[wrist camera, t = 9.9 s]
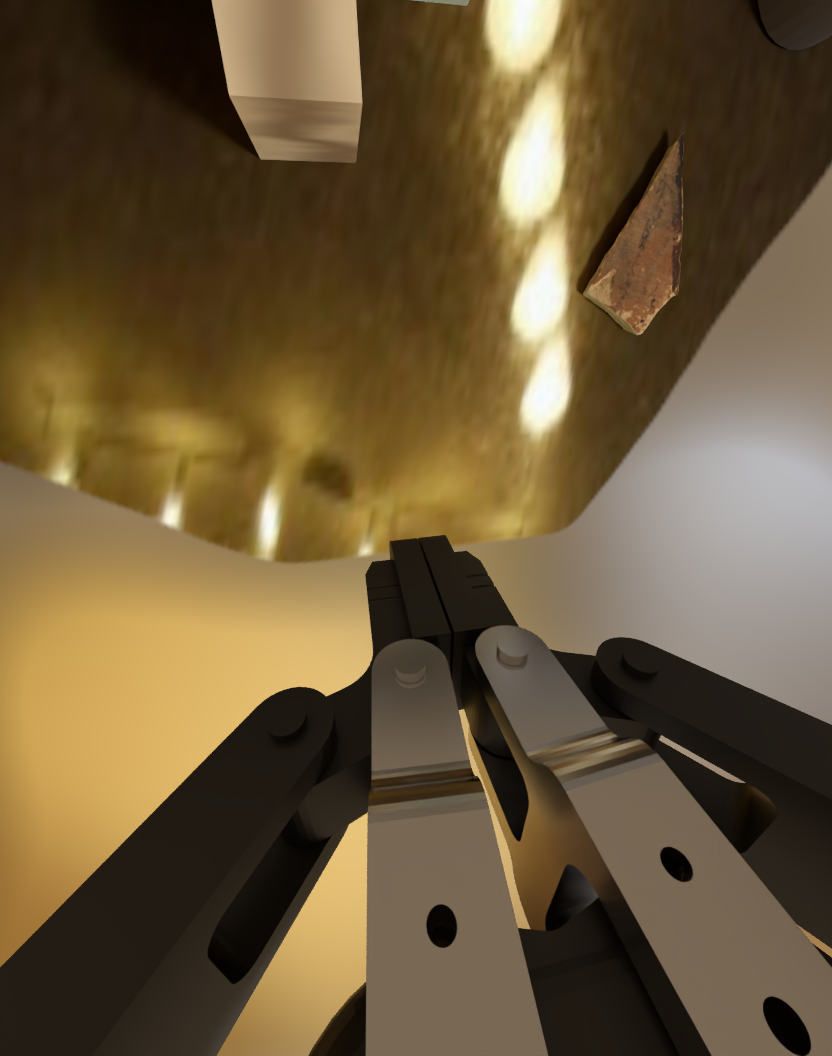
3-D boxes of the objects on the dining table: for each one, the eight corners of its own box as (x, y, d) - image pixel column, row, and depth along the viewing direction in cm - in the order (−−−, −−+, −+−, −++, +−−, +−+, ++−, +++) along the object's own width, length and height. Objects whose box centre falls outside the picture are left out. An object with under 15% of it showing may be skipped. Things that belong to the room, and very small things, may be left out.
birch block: (343, -4, 21) (346, -156, 14) (355, 162, 25) (362, 103, 18) (232, -15, 21) (178, -183, 14) (260, 159, 24) (228, 95, 17)
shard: (667, 140, 28) (687, 129, 26) (725, 210, 30) (746, 204, 29) (574, 292, 31) (586, 290, 30) (633, 341, 34) (647, 343, 33)
